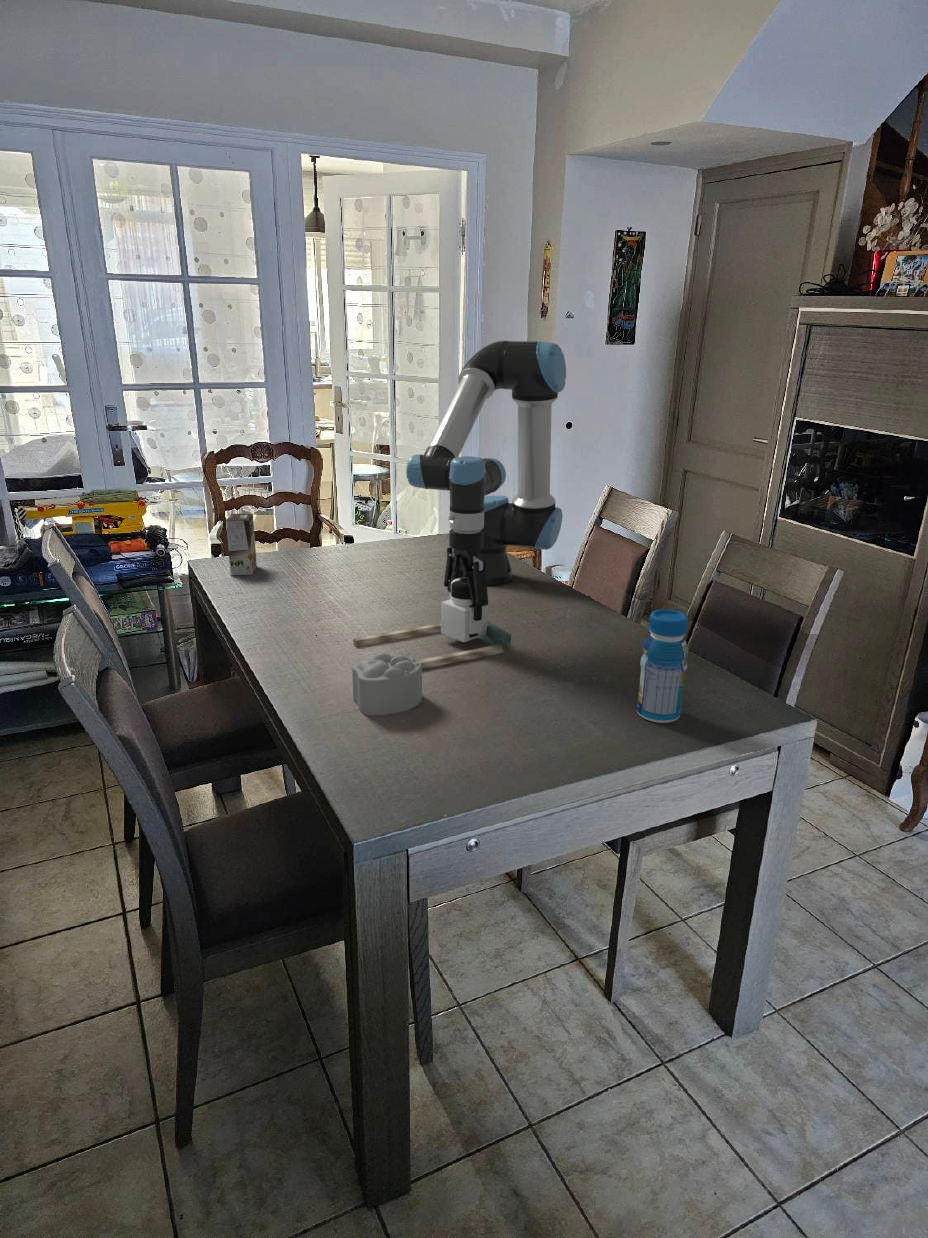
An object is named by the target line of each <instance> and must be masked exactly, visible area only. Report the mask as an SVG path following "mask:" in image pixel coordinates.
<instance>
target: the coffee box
mask: <svg viewBox="0 0 928 1238" xmlns="http://www.w3.org/2000/svg"><path fill="white" fill-rule="evenodd" d="M225 525H226V526H225V527H226V537H227V546H228V547H227V548H228V550H227V551H228V559H229V572H230V576H252V575H254V572H255V570H256V569H257V566H258V565H257V564H258V562H257V551H256V538H255V536H256V535H255V523H254V513H246V512H243V513H239V512H238V513H231V514H230V515H229V516H228V517H227V518H226V520H225Z"/></svg>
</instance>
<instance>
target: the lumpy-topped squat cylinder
mask: <svg viewBox="0 0 928 1238" xmlns="http://www.w3.org/2000/svg"><path fill="white" fill-rule="evenodd" d="M351 672H352V673H351V674H352V675H351V677H352V700H353V702H354V704H355V705H357V707H358V710H359V712H360V713H361V714H363V715H366V716H375V717H376V716H383V715H384V716H386V715H391V714H396V713H397V714H398V713H402V712H406V711H410V710H411V709H413V708H415V707H416V706H417V705H419V704H420V703H421V702H422V701H423V669H422V665H421V663H420V662H418V661H417V660H416V659H414V658H409V657H408V656H405V655H401V654H400V655H392V656H391V655H390V654H389V653H385V652H379V653H377V654H375V655H374V656H373V657H372V658H369V659H365V660H359V661H357V662H355V663H354V664H353V665H352V667H351Z"/></svg>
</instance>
